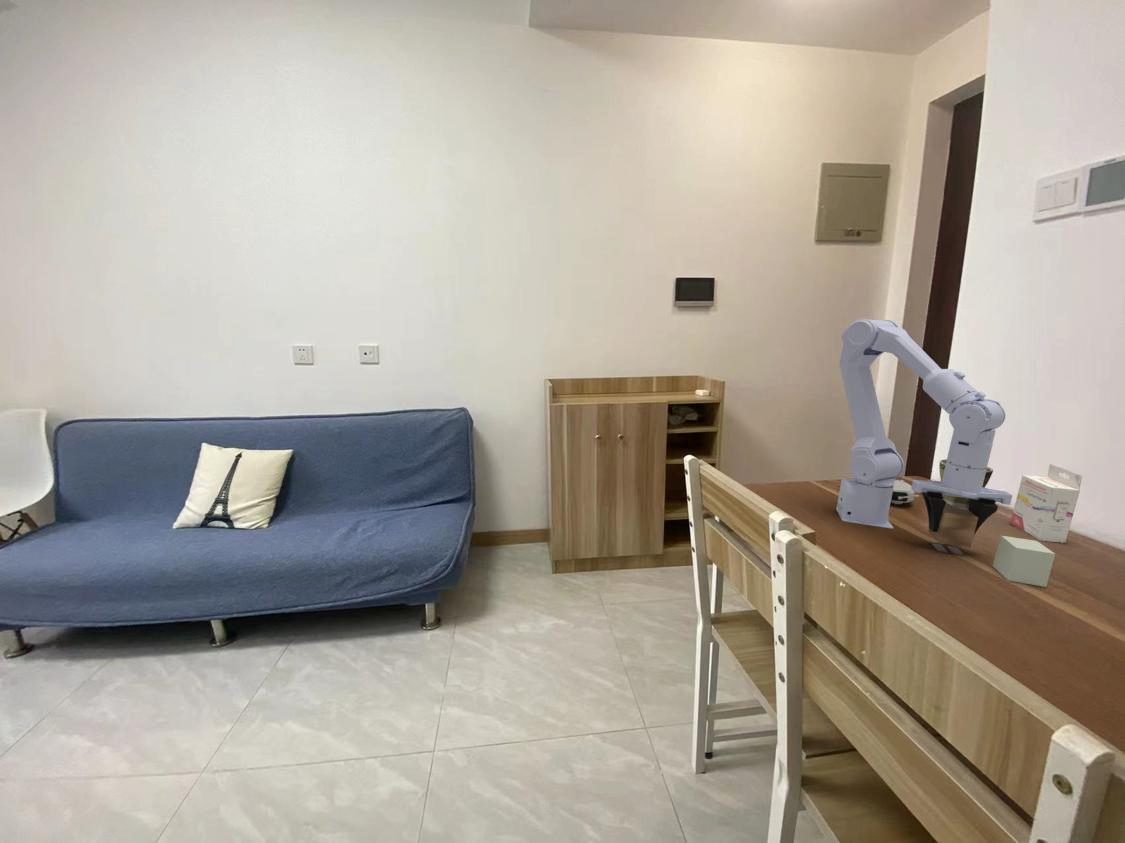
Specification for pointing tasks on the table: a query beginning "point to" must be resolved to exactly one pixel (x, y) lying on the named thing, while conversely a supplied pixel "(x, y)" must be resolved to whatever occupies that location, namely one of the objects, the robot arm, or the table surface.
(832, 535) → the table surface
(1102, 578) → the table surface
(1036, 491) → the ink cartridge box
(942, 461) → the ceramic cup
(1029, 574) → the sage block
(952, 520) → the walnut block
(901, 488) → the robot toy
